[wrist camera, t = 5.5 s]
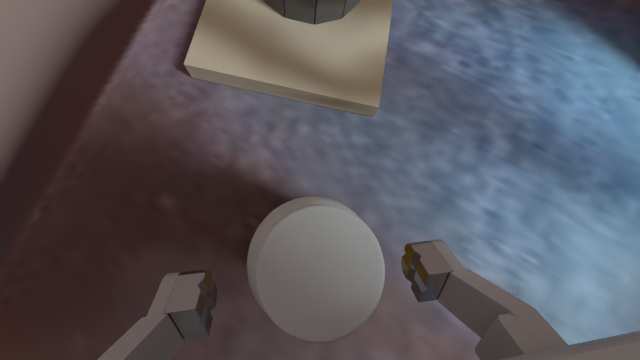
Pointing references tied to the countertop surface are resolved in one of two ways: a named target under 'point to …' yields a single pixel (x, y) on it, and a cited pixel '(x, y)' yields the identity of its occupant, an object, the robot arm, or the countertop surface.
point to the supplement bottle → (315, 269)
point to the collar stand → (296, 49)
